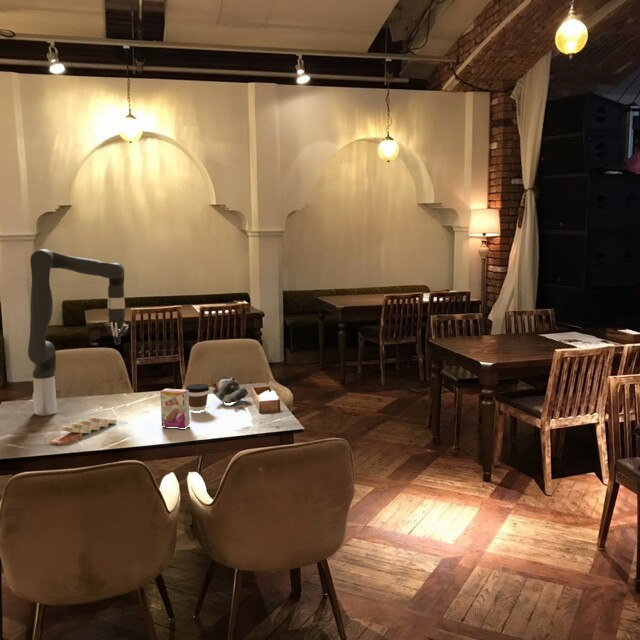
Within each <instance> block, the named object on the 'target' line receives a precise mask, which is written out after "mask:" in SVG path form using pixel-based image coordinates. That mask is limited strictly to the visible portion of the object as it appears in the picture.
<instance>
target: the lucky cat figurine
mask: <svg viewBox="0 0 640 640" xmlns="http://www.w3.org/2000/svg"><path fill="white" fill-rule="evenodd" d="M212 385H213V387H212V394H213V395H214V396H215V397H216V398H218V400H220V401H221V402H222V403H223V402H225V403H231V402H237V403H239V402H240V401H241V400H242V399H244V398H245V397H247V396H248V395H249V394H250V393H249V392H248V390H247V388H246V387H244V386H241V385H240V384H239V383H238V381H237V380H235V378H234V377H232V376H231V377H230V378H228V377H227V376H223V377H222V379H220V380H219V381H218V383H216V382H215V383H213V384H212Z"/></svg>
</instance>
